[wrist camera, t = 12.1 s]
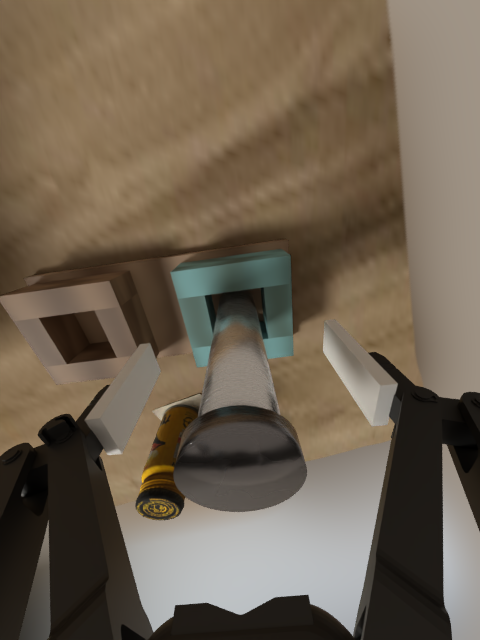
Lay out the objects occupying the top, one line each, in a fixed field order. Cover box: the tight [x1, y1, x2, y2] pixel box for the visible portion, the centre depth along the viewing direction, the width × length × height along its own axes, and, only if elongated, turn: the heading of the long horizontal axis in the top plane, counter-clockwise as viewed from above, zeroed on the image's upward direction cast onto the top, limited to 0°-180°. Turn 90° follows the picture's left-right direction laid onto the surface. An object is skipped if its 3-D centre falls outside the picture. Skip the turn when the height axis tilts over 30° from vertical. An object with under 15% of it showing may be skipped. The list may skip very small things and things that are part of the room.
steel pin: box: [173, 290, 307, 512], centre depth 16 cm, size 5×5×18 cm
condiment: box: [136, 394, 202, 520], centre depth 29 cm, size 7×8×12 cm
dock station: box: [0, 239, 293, 385], centre depth 23 cm, size 28×12×5 cm, turn 98°
